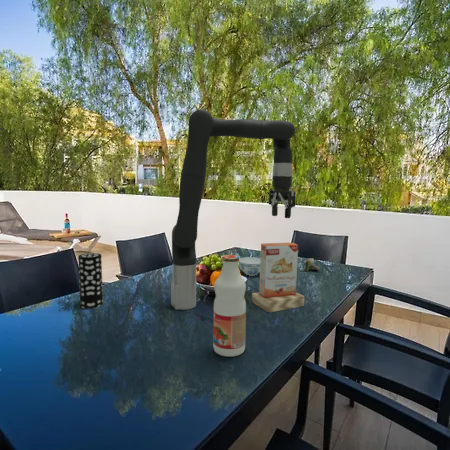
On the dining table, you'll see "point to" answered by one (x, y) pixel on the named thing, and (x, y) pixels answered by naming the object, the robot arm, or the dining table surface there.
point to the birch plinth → (277, 302)
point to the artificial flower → (308, 263)
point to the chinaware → (250, 265)
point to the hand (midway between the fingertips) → (280, 216)
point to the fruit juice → (229, 309)
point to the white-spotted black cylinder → (90, 280)
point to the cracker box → (278, 269)
